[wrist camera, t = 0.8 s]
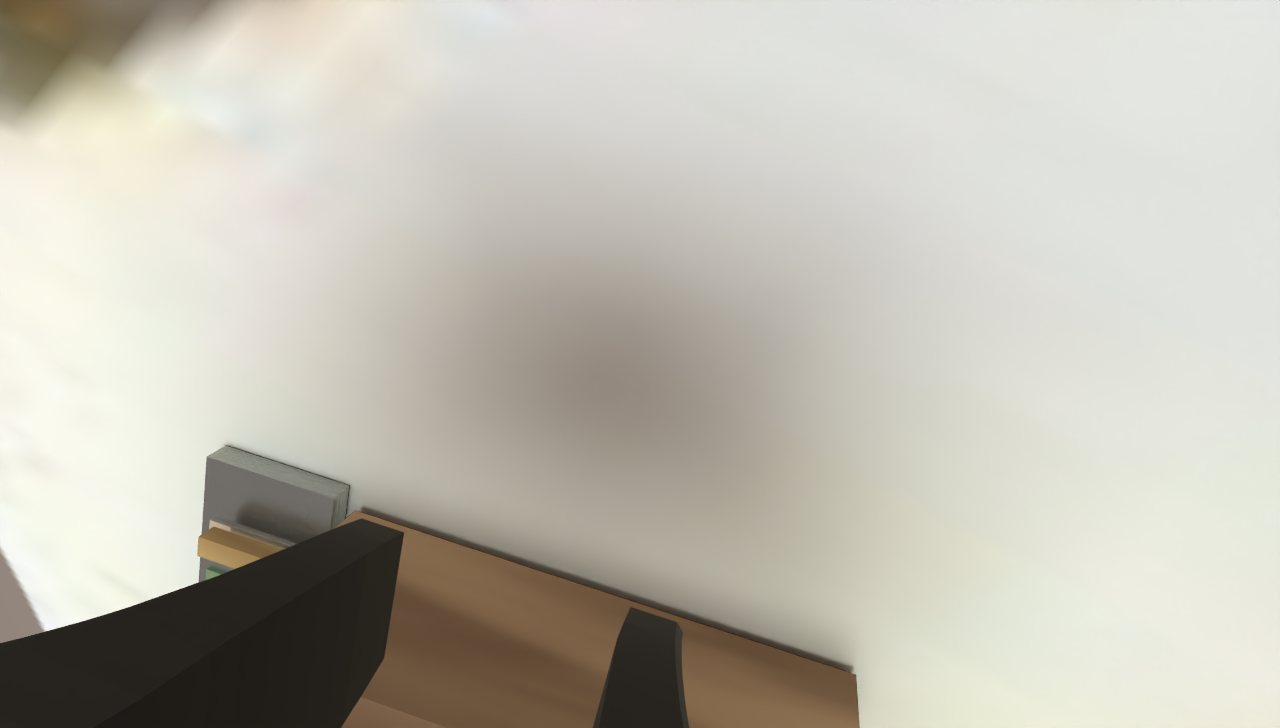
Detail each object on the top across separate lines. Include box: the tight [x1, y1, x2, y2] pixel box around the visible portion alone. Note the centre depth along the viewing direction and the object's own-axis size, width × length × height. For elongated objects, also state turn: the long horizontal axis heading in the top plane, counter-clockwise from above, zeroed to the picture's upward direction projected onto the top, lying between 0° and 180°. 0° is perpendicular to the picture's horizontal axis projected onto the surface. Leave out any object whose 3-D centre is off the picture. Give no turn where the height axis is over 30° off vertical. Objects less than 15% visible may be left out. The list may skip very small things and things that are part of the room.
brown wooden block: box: [197, 511, 860, 728], centre depth 20 cm, size 3×18×6 cm, turn 77°
